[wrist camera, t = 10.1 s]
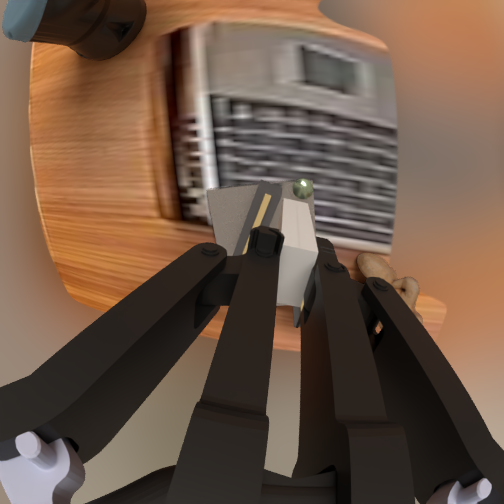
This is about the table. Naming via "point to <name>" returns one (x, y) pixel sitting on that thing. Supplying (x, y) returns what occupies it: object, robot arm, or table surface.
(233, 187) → the level plate
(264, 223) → the striped dark bar
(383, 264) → the figurine
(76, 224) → the table surface
